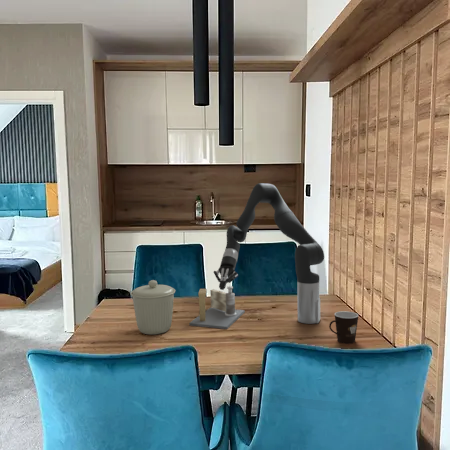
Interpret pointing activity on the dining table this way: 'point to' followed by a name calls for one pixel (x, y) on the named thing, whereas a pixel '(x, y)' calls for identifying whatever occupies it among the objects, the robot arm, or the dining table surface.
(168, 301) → the canister
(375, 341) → the dining table surface
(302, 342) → the dining table surface
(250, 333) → the dining table surface
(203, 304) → the post
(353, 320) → the coffee mug
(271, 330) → the dining table surface
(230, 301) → the white wavy panel
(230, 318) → the board
